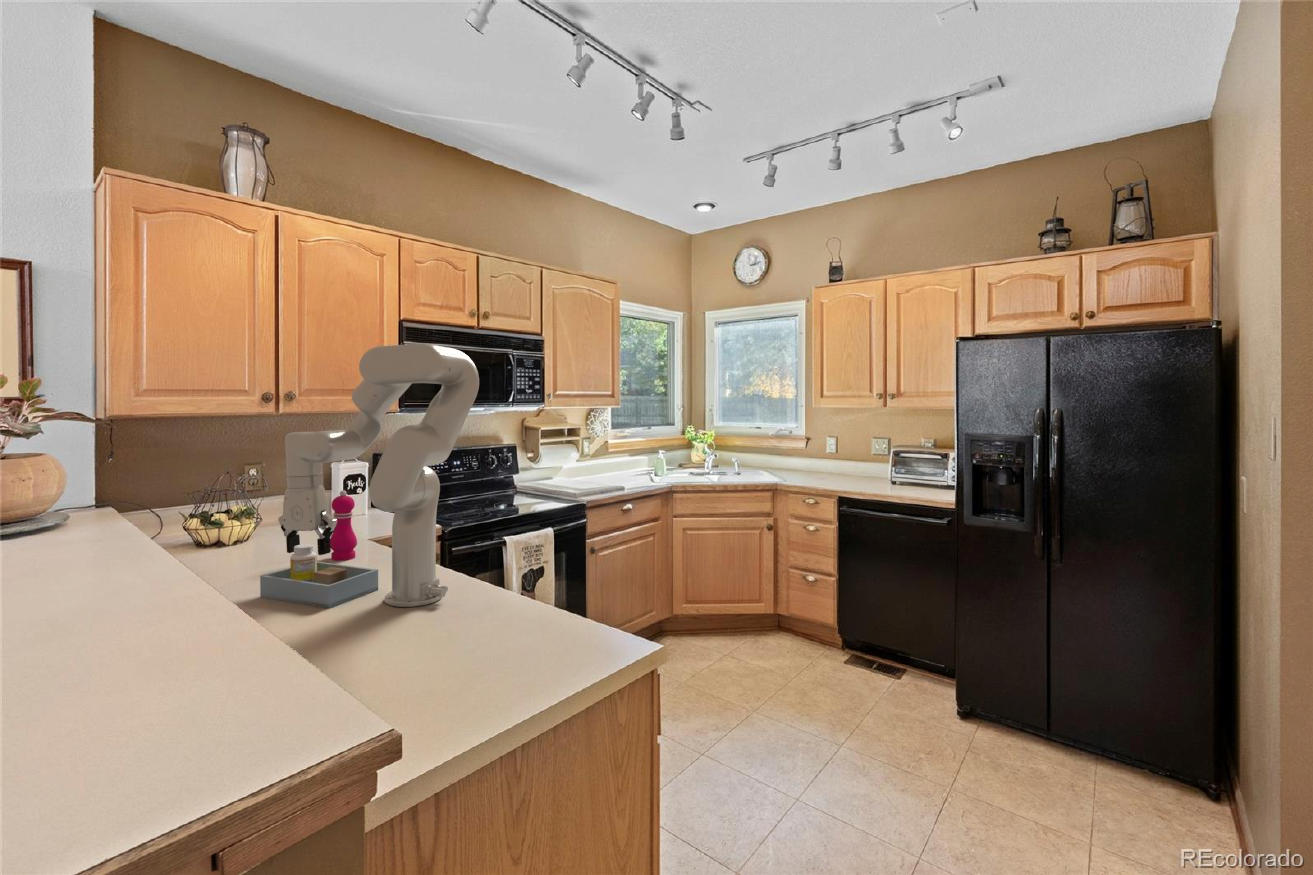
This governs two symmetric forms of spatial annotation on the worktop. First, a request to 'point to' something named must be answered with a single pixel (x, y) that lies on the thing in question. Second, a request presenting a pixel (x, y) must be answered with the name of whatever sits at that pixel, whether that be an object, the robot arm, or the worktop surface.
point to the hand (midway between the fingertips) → (308, 552)
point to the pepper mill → (343, 529)
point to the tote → (319, 586)
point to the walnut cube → (329, 575)
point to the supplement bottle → (303, 563)
